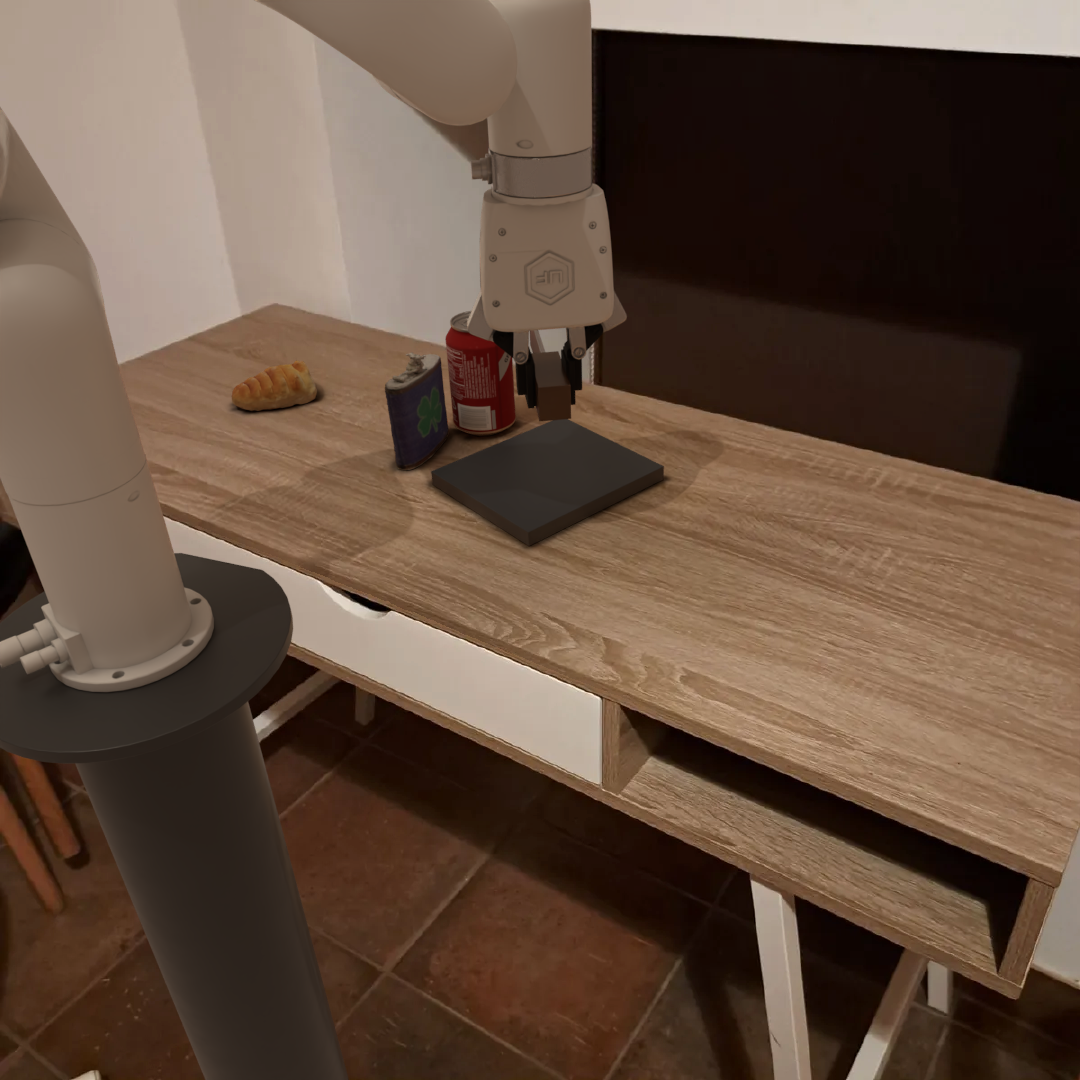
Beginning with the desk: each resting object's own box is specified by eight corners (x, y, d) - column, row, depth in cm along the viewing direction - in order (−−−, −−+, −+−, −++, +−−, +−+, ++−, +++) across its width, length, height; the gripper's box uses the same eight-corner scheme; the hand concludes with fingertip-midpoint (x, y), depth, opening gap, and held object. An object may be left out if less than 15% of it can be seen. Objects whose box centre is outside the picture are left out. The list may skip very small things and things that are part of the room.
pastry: (242, 420, 113) (235, 389, 111) (226, 399, 118) (219, 369, 116) (322, 400, 116) (317, 369, 114) (304, 380, 121) (298, 350, 119)
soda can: (495, 444, 106) (487, 336, 99) (441, 432, 109) (430, 326, 102) (527, 418, 111) (522, 313, 104) (475, 406, 113) (467, 304, 107)
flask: (432, 428, 109) (422, 334, 103) (457, 432, 108) (448, 338, 102) (390, 468, 102) (376, 370, 96) (415, 473, 101) (403, 374, 95)
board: (528, 546, 90) (528, 532, 89) (432, 484, 99) (430, 471, 98) (663, 479, 98) (664, 466, 98) (562, 428, 108) (562, 416, 107)
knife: (571, 418, 82) (570, 384, 80) (539, 421, 82) (538, 387, 80) (546, 343, 95) (544, 313, 93) (518, 346, 95) (517, 315, 93)
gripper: (433, 193, 71) (455, 428, 81) (660, 177, 72) (654, 411, 82) (430, 167, 77) (451, 389, 87) (639, 153, 78) (636, 373, 88)
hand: (549, 398), depth 84 cm, fingers closed on knife, 2 cm apart
